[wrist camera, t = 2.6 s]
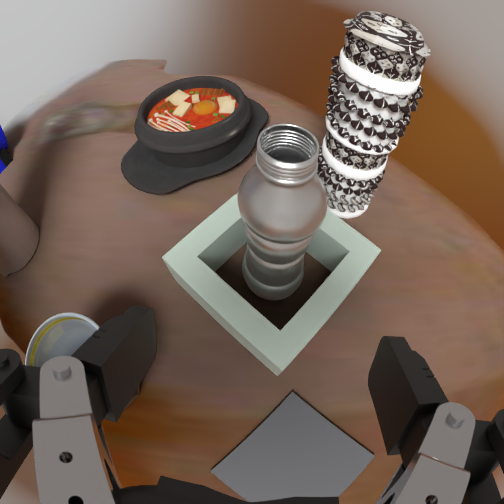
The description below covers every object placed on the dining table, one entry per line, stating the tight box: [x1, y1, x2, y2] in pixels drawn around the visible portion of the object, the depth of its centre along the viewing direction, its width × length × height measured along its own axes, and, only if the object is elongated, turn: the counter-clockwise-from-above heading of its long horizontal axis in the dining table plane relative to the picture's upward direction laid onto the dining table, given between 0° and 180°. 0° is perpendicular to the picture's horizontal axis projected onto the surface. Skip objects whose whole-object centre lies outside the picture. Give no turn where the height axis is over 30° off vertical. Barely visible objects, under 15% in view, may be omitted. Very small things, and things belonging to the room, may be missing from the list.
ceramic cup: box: [25, 312, 139, 419], centre depth 24 cm, size 13×10×10 cm
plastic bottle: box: [237, 123, 327, 300], centre depth 25 cm, size 6×7×20 cm
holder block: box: [162, 193, 381, 376], centre depth 32 cm, size 16×16×6 cm
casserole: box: [121, 76, 268, 195], centre depth 41 cm, size 25×19×8 cm
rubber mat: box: [211, 392, 375, 502], centre depth 24 cm, size 12×12×1 cm
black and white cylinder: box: [316, 11, 430, 219], centre depth 29 cm, size 9×9×25 cm
